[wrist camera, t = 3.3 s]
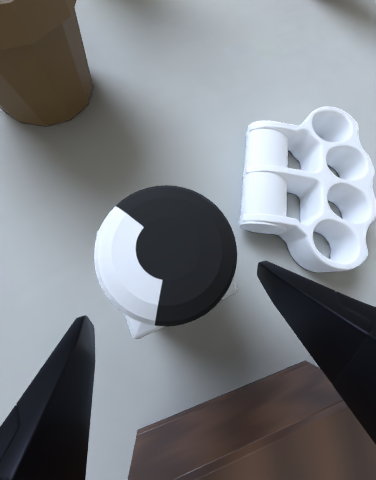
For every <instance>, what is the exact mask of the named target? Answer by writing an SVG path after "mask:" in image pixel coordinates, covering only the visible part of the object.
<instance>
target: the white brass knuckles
mask: <svg viewBox="0 0 376 480" xmlns="http://www.w3.org/2000/svg"><path fill="white" fill-rule="evenodd" d="M358 131H359V125H358V124H357V122H356V121H355V120H354V118H353V117H352V116H350V115H349V114H348V113H346V112H345V111H343V110H341V109H338V108H335V107H321V108H318V109H316V110H314V111H313V112H312V113H311V114H310V115H309V116H308V117H307V118H306V119H305V121H304V122H303V123H302V124H300V125H292V124H287V123H283V122H275V121H267V120H264V121H256V122H253V123H251V124H250V125H249V126H248V130H247V132H246V138H247V143H246V155H245V168H244V173H243V176H242V178H243V179H244V180H243V193H242V205H241V218H239V225H240V227H241V228H242V229H245V230H248V231H252V232H257V233H265V234H277V235H279V236H280V237H281V238H282V239H283V240H284V241H285V242H286V243H287V246H288V249H289V252H290V254H291V256H292V257H293V259H294V260H295V261H296V262H297V263H298V264H299V265H300V266H302V267H303V268H305V269H307V270H309V271H313V272H334V271H347V270H351V269H354V268H356V267H358V266H360V265H361V264H362V263H363V262H364V261H365V259H366V258H367V256H368V253H369V252H368V249H367V245H366V233H367V229H368V227H369V225H370V224H371V223H372V222H375V221H374V220H375V217H376V197H375V195H374V192H373V178H374V175H375V170H374V167H373V164H372V161H371V158H370V156H369V155H368V154H367V153H366V152H365V151H364V149H363V148H362V146H361V144H360V141H359V137H358ZM318 135H319V136H320V137H321V138H320V137H319V136H318ZM322 138H323V139H322ZM288 150H289V151H290V152H291V153H292V154H293V156H294V157H295V158H296V159H297V160H298V161H299V162H300V170H298V169H292V168H287V166H288ZM328 165H329V166H331V167H332V168H334V169H335V170H336V171H337V173H338V174H339V177H340V178H339V177H337V176H335V175H334V174H333V173H332V172H331V171H330V169H329V167H328ZM287 192H288V193H293V194H296V195H297V196H298V197H299V199H300V222H299V221H298V220H297V219H296V218H290V217H286V210H287ZM328 200H329V201H331V202H332V203H334V204H335V205H336V206H337V207H338V208H339V210H340V212H341V214H342V218H340V217H339V216H337V215H336V214H335V213H334V212H333V211H332V210H331V208H330V206H329V204H328ZM313 231H315V232H317V233H319V234H321V235H322V236H324V237H325V238H326V240H327V241H328V243H329V245H330V248H331V256H330V259H328V258H326V257H325V256H323V255H322V254H321V253H320V252H319V251H318V250H317V248H316V246H315V244H314V241H313Z"/></svg>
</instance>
